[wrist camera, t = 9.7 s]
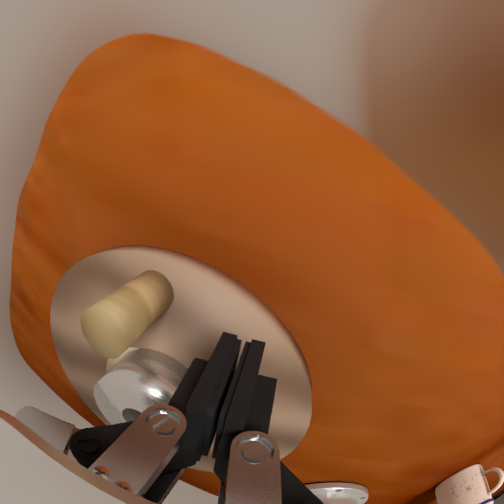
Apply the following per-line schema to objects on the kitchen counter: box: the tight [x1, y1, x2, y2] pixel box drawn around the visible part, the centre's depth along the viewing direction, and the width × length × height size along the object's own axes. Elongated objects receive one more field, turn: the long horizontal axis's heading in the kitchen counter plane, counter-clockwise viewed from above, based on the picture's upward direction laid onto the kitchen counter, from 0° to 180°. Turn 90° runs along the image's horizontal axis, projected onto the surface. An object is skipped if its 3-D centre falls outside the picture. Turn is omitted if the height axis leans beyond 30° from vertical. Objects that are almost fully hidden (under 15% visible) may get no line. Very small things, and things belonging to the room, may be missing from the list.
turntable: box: [50, 245, 312, 472], centre depth 15 cm, size 22×22×6 cm
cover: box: [94, 348, 188, 425], centre depth 15 cm, size 7×7×4 cm
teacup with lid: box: [435, 464, 504, 504], centre depth 14 cm, size 12×9×12 cm
